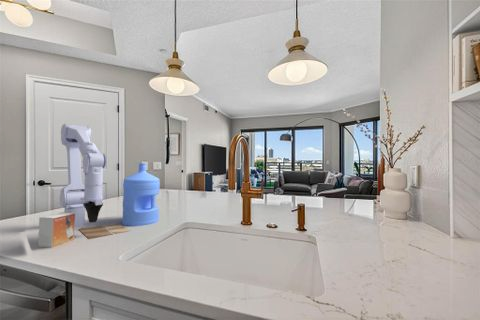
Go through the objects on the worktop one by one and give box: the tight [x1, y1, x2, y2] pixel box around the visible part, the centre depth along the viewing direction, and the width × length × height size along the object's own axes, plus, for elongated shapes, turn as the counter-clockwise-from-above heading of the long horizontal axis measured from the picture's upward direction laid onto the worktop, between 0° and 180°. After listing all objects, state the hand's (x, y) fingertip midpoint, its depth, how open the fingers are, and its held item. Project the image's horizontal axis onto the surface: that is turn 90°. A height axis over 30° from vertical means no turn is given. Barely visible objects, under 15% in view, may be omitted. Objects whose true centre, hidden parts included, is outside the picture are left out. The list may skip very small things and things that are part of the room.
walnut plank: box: [77, 225, 114, 240], centre depth 89 cm, size 16×8×1 cm, turn 46°
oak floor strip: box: [101, 222, 132, 235], centre depth 95 cm, size 16×6×1 cm, turn 46°
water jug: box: [121, 162, 161, 227], centre depth 107 cm, size 16×16×28 cm
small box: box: [37, 211, 76, 249], centre depth 77 cm, size 8×6×10 cm
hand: (92, 222), depth 85 cm, fingers closed
